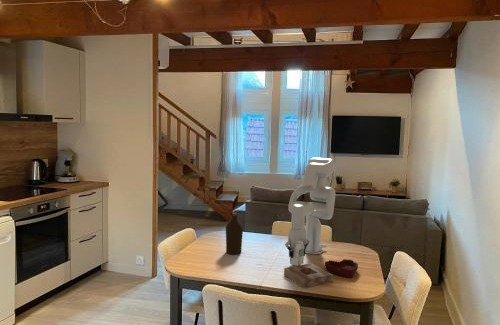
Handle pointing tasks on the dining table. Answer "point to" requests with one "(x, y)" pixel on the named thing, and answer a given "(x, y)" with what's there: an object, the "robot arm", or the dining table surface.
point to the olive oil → (234, 236)
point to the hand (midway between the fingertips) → (297, 256)
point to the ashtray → (342, 267)
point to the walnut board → (308, 275)
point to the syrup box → (298, 254)
